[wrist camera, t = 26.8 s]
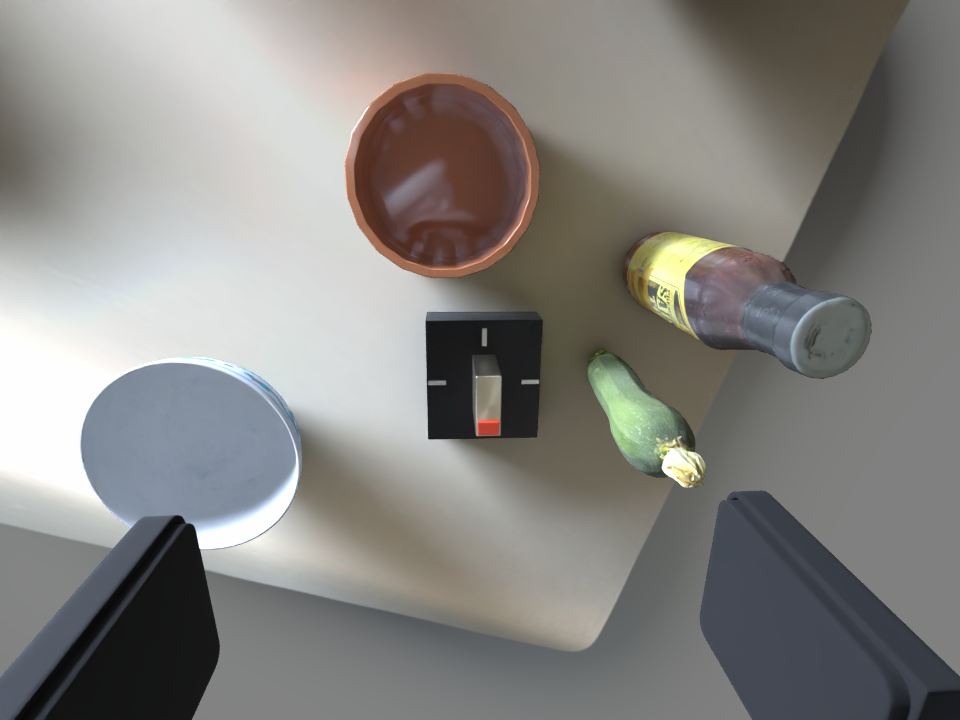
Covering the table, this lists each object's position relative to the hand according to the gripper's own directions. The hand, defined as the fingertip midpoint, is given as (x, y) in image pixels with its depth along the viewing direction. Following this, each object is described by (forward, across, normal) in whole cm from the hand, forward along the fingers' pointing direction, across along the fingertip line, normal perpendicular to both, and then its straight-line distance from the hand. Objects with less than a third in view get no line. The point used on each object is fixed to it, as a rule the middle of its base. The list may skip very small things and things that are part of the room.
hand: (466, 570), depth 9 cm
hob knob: (+31, -3, +9) cm, 32 cm away
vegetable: (+34, -13, +9) cm, 38 cm away
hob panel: (+34, -3, +9) cm, 35 cm away
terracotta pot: (+34, 0, -6) cm, 35 cm away
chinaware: (+34, +18, +12) cm, 41 cm away
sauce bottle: (+34, -17, 0) cm, 38 cm away
